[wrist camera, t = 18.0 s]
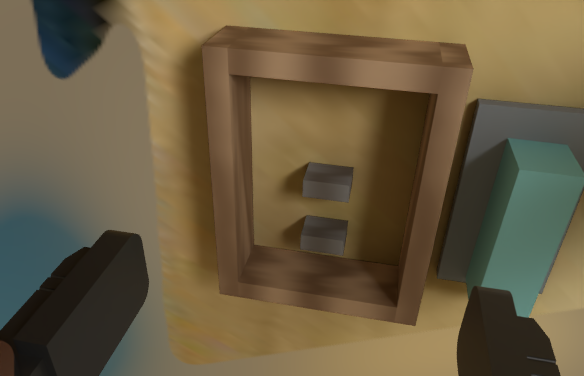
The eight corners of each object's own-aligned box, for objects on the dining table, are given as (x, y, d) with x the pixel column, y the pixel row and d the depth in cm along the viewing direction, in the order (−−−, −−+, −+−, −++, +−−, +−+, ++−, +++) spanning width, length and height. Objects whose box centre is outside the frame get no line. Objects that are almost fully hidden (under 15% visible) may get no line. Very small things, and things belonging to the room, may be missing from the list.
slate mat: (608, 111, 36) (613, 116, 35) (539, 286, 45) (541, 293, 44) (477, 98, 37) (479, 103, 36) (436, 270, 46) (437, 278, 45)
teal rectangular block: (567, 144, 36) (586, 178, 32) (514, 285, 44) (524, 326, 40) (507, 137, 37) (519, 169, 33) (465, 277, 45) (470, 317, 41)
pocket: (465, 44, 35) (473, 69, 31) (414, 283, 47) (415, 326, 43) (226, 25, 38) (201, 45, 33) (236, 256, 50) (219, 293, 46)
